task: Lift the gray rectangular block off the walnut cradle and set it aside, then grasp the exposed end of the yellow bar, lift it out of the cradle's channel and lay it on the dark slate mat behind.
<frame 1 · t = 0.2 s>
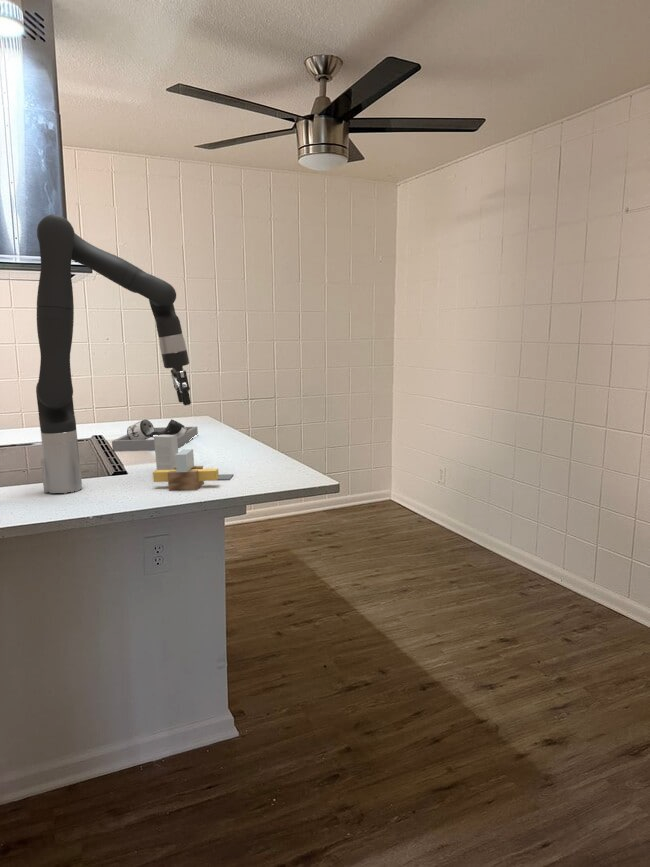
hand: (184, 403, 182), 22 cm above the countertop, tool pointing down, fingers open, 8 cm apart
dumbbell: (157, 443, 245), on the countertop, touching bucket corral
gray rectangular block: (185, 469, 169), point 5 cm above the countertop, touching cradle
skincare box: (168, 473, 189), on the countertop
cradle: (186, 486, 170), on the countertop
yellow bar: (186, 480, 170), point 2 cm above the countertop, touching cradle
mat: (195, 478, 180), on the countertop
bucket corral: (158, 442, 245), on the countertop
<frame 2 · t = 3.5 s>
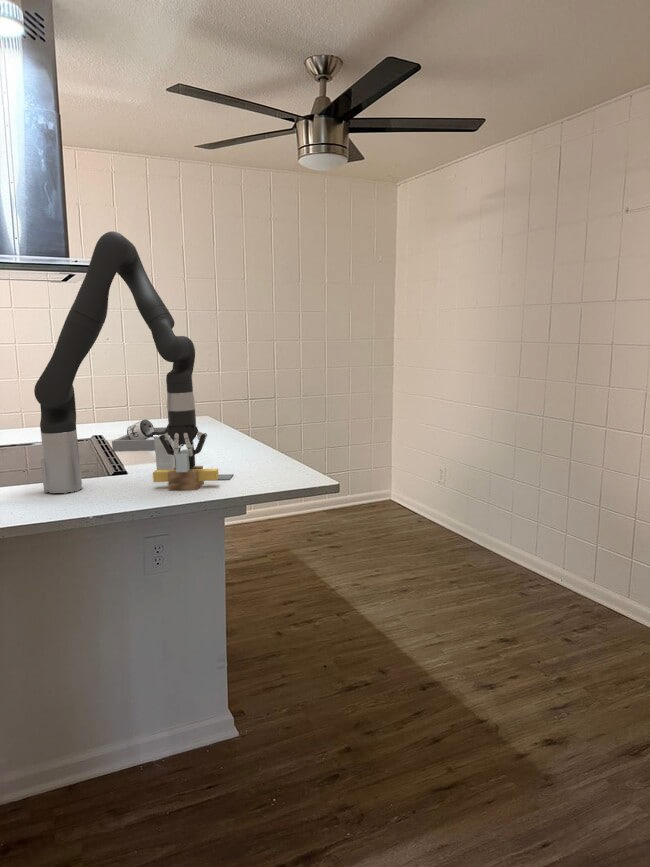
hand: (185, 468, 169), 5 cm above the countertop, tool pointing down, fingers closed on gray rectangular block, 2 cm apart
gray rectangular block: (185, 469, 169), point 5 cm above the countertop, touching cradle, gripper
everything else where it was.
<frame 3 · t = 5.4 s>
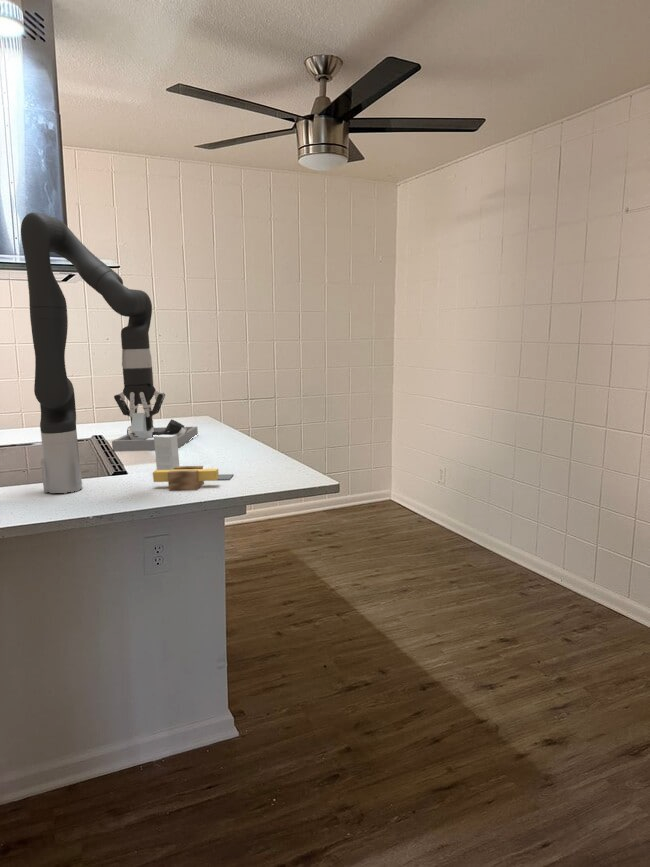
hand: (142, 430, 161), 18 cm above the countertop, tool pointing down, fingers closed on gray rectangular block, 2 cm apart
gray rectangular block: (141, 434, 160), point 17 cm above the countertop, tilted 23°, touching gripper
everything else where it was.
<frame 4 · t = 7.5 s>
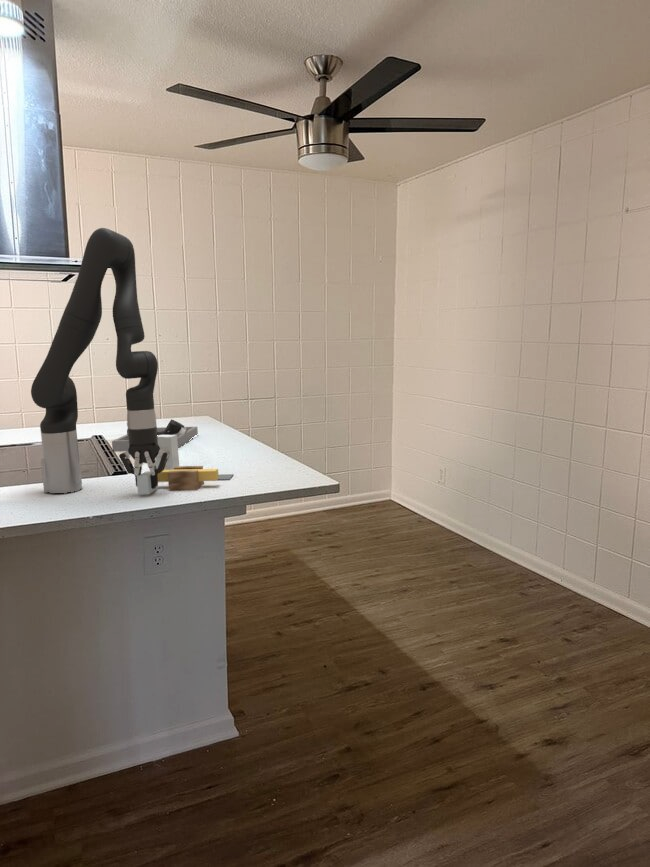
hand: (147, 487, 163), 2 cm above the countertop, tool pointing down, fingers closed on gray rectangular block, 3 cm apart
gray rectangular block: (148, 491, 164), point 1 cm above the countertop, touching gripper
everything else where it was.
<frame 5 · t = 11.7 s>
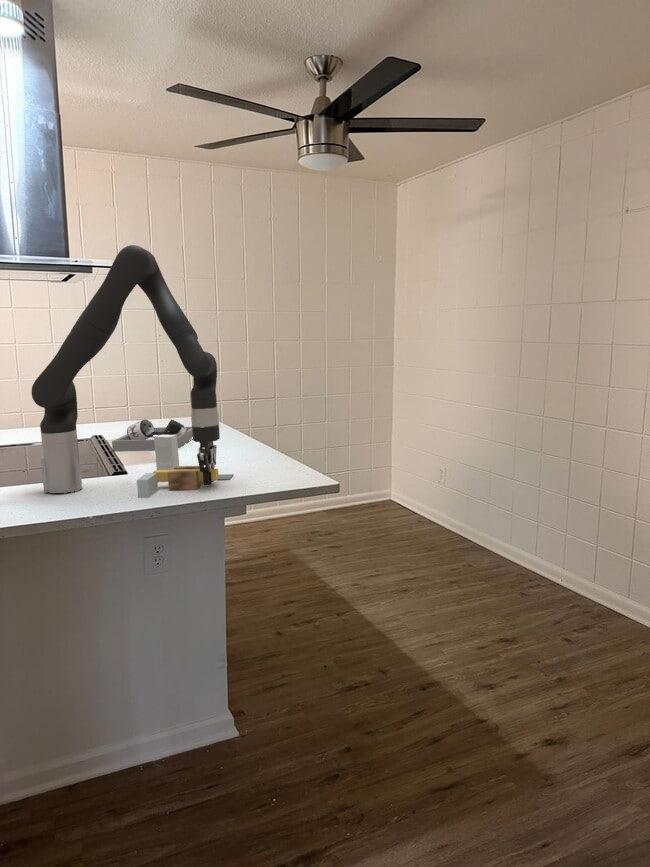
hand: (209, 483, 170), 1 cm above the countertop, tool pointing down, fingers closed on yellow bar, 3 cm apart
gray rectangular block: (148, 494, 164), on the countertop
yellow bar: (186, 480, 170), point 2 cm above the countertop, touching cradle, gripper
everything else where it was.
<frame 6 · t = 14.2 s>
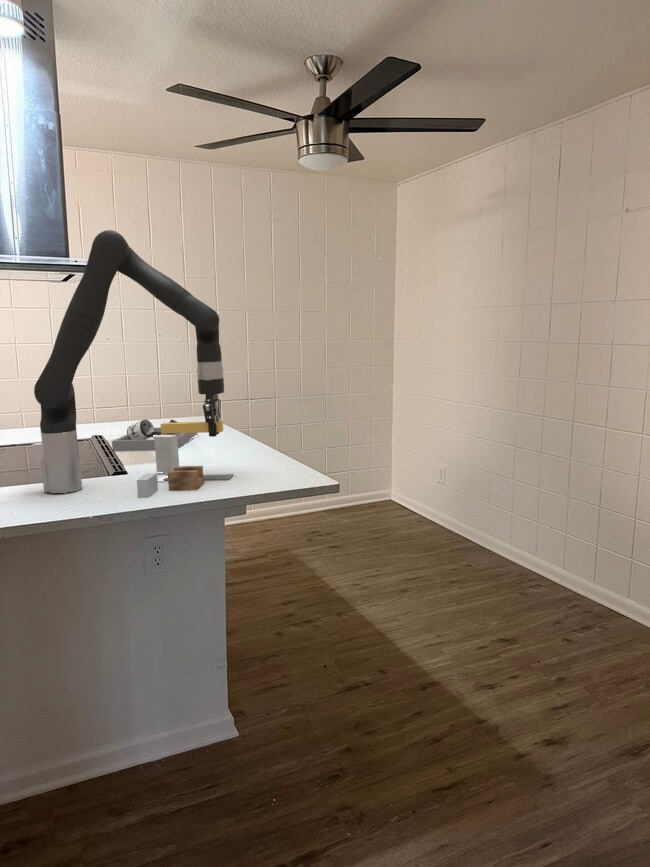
hand: (214, 435, 178), 13 cm above the countertop, tool pointing down, fingers closed on yellow bar, 3 cm apart
yellow bar: (192, 432, 178), point 14 cm above the countertop, touching gripper
everything else where it was.
when the fingers open (1 cm above the countertop, at t = 16.6 s): yellow bar drops 2 cm, resting on mat.
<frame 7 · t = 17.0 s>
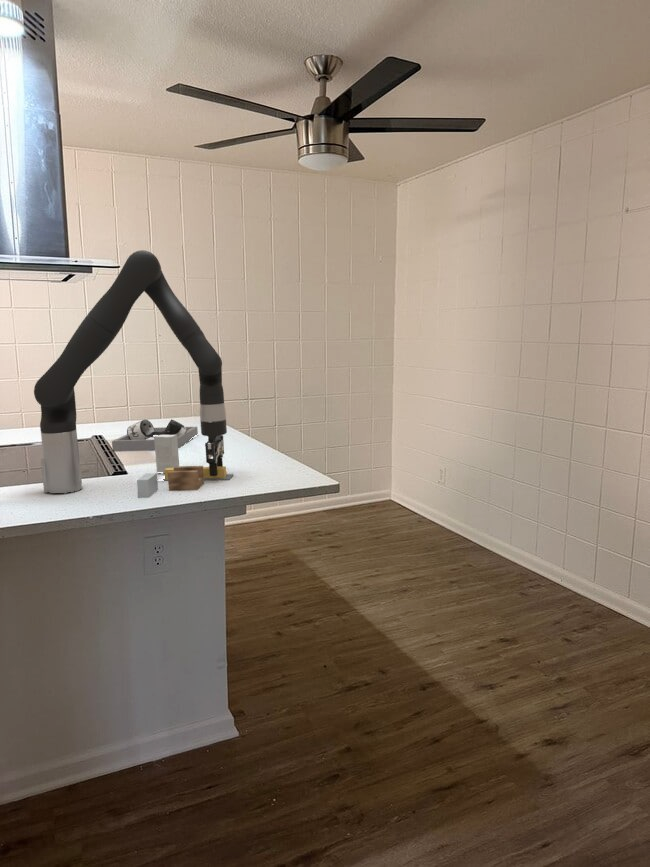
hand: (216, 472, 180), 2 cm above the countertop, tool pointing down, fingers open, 7 cm apart
yellow bar: (195, 477, 180), resting on mat
everything else where it was.
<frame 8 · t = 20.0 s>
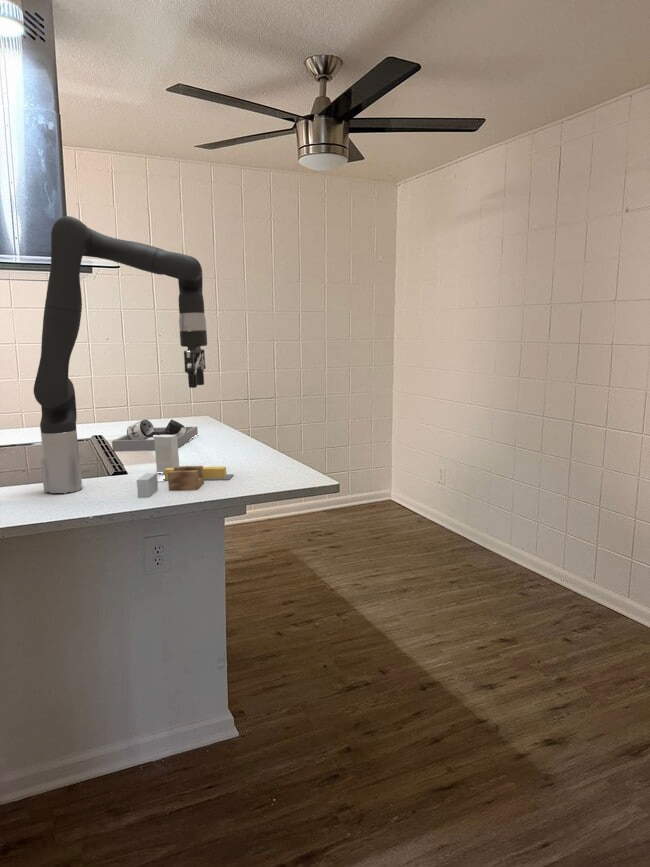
hand: (196, 386, 172), 28 cm above the countertop, tool pointing down, fingers open, 8 cm apart
nothing on the countertop moved.
at the end: yellow bar inside the target area (0.1 cm from its centre), resting on mat; yellow bar touching mat; gray rectangular block moved 12.4 cm from its start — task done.
